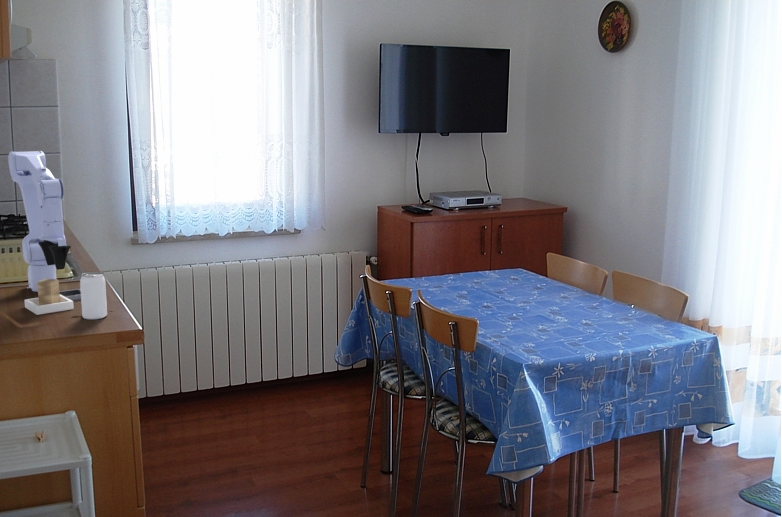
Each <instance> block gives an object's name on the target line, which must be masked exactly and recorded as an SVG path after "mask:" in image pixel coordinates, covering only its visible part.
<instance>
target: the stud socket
mask: <svg viewBox="0 0 782 517" xmlns="http://www.w3.org/2000/svg"><path fill="white" fill-rule="evenodd" d="M59 293H60V294H61V295H63V296H65V297H66V298H68V299H70V300H72V301H73V302H77V301H81V290H80V288H74V289H68V290H67V289H66V290H59Z"/></svg>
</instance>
